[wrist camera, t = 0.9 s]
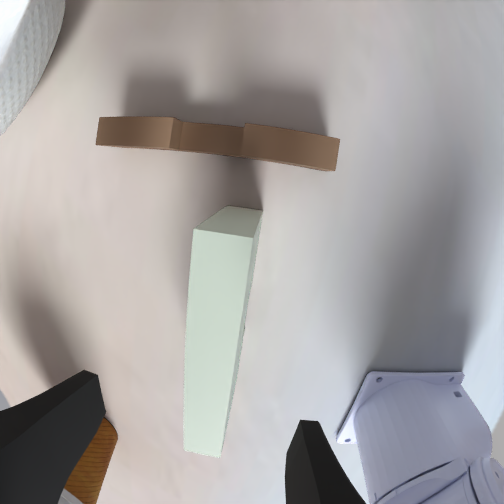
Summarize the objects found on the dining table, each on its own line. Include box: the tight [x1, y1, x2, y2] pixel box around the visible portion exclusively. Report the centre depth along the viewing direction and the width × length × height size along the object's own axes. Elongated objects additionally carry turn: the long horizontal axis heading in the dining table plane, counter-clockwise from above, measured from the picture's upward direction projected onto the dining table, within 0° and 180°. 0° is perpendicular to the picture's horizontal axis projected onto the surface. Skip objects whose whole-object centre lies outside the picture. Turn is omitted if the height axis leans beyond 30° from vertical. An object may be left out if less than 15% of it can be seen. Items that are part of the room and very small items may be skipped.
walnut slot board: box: [96, 117, 340, 171], centre depth 14 cm, size 12×2×3 cm, turn 82°
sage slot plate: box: [184, 205, 263, 458], centre depth 15 cm, size 12×2×7 cm, turn 172°
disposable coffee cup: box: [58, 418, 118, 504], centre depth 18 cm, size 10×10×12 cm
